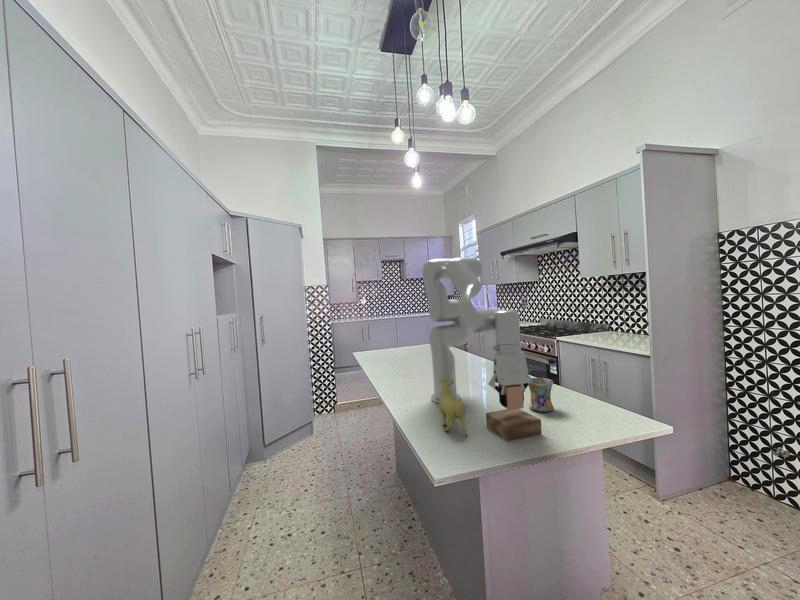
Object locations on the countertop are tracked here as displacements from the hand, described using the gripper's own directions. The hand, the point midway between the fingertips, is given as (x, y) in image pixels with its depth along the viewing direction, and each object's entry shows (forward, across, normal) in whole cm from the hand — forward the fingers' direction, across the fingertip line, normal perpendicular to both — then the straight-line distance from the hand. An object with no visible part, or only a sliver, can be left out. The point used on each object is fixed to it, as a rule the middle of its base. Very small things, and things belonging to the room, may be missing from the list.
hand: (512, 404), depth 105 cm
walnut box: (+9, 0, 0) cm, 9 cm away
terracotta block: (+1, 0, 0) cm, 1 cm away
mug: (+9, +19, +15) cm, 26 cm away
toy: (+9, -18, +9) cm, 22 cm away
